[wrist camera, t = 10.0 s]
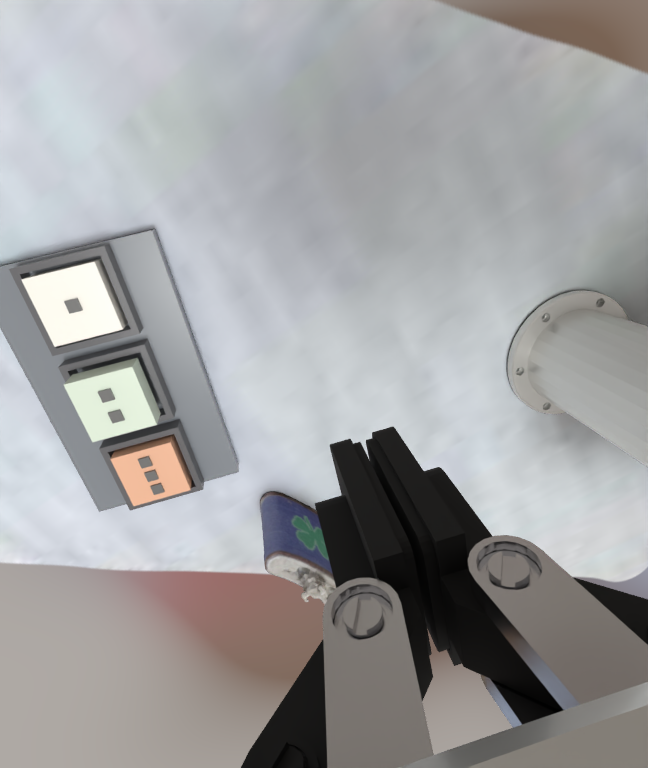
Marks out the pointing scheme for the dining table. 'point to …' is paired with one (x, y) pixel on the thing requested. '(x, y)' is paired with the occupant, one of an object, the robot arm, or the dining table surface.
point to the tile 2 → (113, 399)
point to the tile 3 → (152, 469)
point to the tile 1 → (76, 302)
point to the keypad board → (137, 340)
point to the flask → (296, 545)
